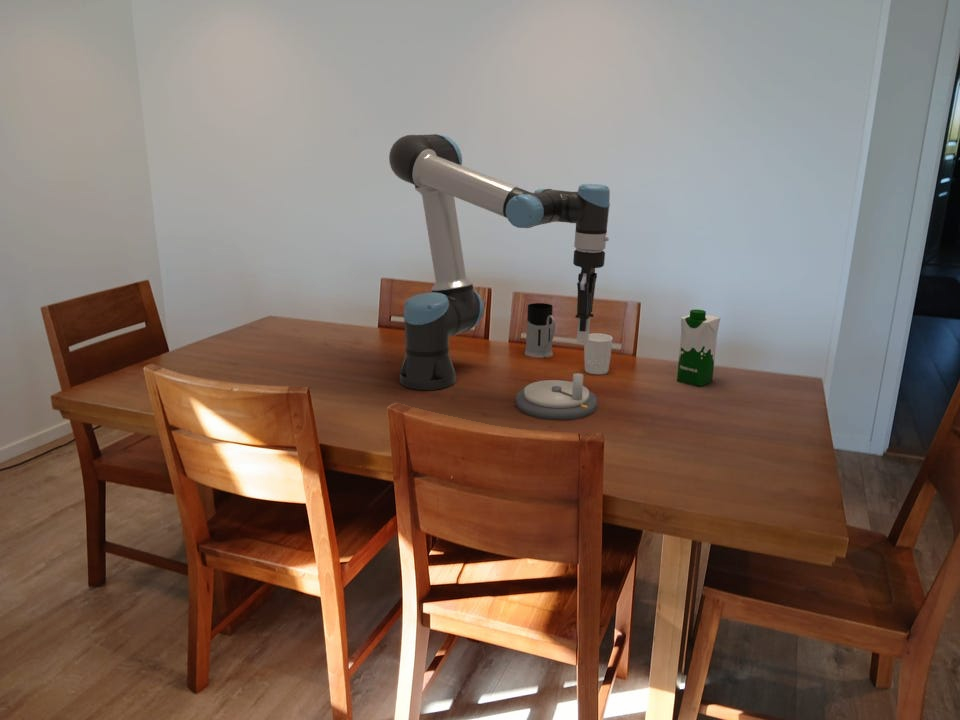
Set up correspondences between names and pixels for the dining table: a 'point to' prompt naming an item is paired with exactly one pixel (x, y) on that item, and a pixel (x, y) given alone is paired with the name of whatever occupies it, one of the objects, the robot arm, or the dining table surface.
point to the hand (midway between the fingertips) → (582, 342)
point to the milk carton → (697, 348)
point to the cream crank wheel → (557, 393)
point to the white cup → (597, 353)
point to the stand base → (556, 412)
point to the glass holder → (539, 330)
